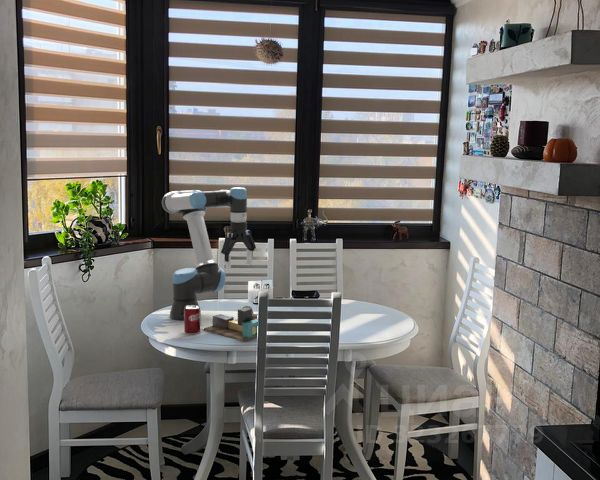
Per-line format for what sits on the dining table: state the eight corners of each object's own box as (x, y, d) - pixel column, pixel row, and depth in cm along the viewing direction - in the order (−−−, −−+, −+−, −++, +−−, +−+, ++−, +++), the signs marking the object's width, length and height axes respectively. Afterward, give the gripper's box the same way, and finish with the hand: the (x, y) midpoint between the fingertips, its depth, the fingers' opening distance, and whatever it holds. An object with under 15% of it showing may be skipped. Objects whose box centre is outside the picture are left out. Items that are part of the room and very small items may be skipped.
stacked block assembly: (208, 327, 347) (208, 313, 345) (224, 323, 354) (224, 309, 353) (248, 338, 330) (247, 324, 329) (263, 333, 337) (263, 319, 336)
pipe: (271, 314, 357) (274, 306, 366) (237, 312, 358) (241, 304, 368) (271, 326, 359) (274, 318, 368) (237, 325, 360) (241, 316, 370)
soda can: (181, 332, 342) (180, 307, 340) (193, 329, 347) (192, 304, 345) (191, 335, 337) (191, 309, 335) (203, 332, 342) (203, 306, 341)
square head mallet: (222, 327, 344) (222, 305, 342) (230, 325, 347) (230, 303, 346) (250, 335, 332) (250, 312, 330) (258, 332, 336) (258, 310, 334)
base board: (203, 330, 346) (203, 328, 346) (226, 324, 356) (226, 322, 356) (244, 341, 328) (244, 339, 328) (266, 335, 339) (266, 332, 338)
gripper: (224, 224, 333) (224, 271, 337) (263, 219, 352) (263, 263, 355) (212, 223, 338) (213, 269, 342) (252, 217, 357) (252, 261, 360)
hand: (238, 266), depth 348 cm, fingers open, 13 cm apart
